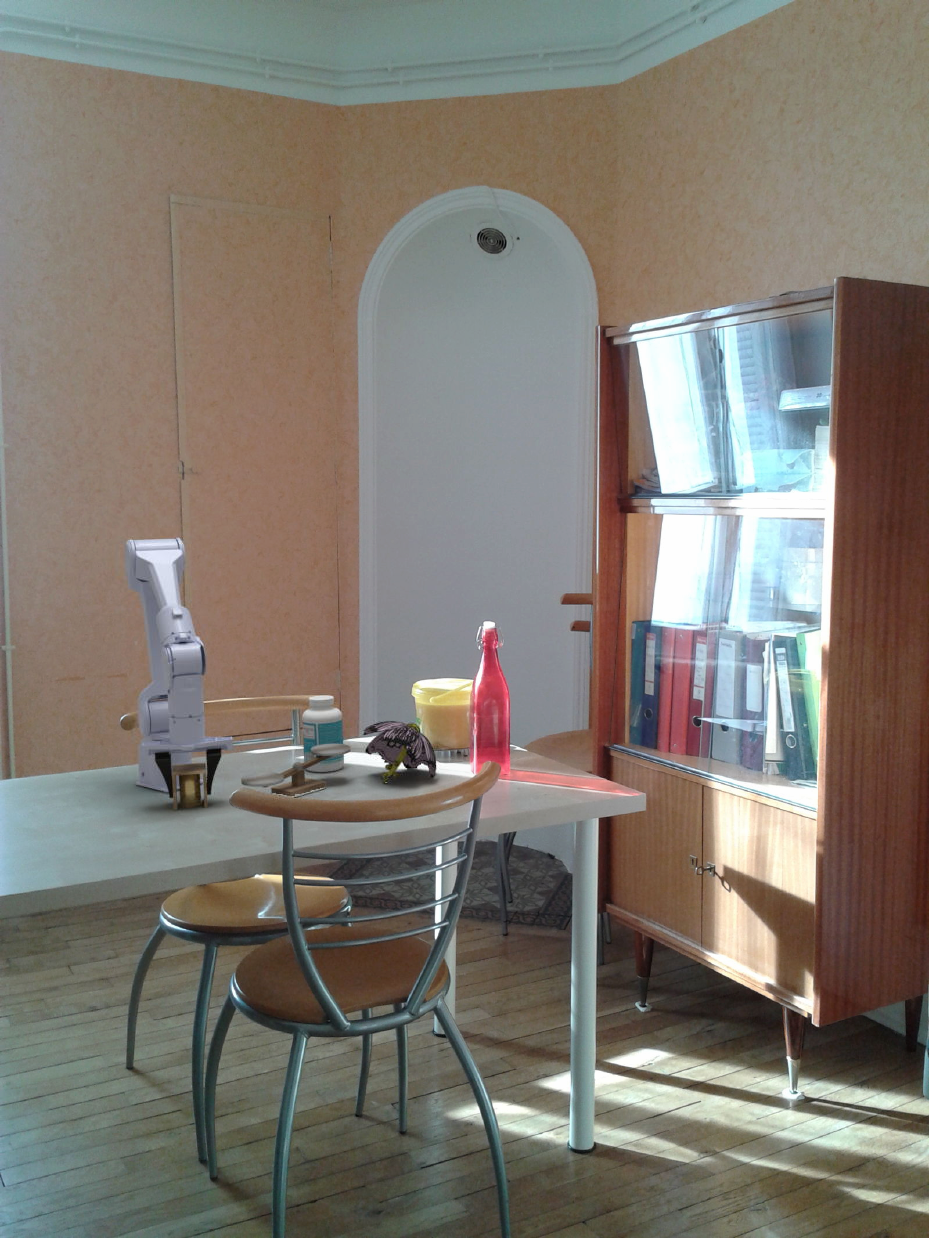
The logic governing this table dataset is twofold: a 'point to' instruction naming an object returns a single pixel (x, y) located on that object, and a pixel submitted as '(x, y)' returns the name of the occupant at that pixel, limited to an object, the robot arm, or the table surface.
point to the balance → (296, 773)
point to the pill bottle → (322, 731)
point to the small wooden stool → (186, 770)
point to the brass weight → (190, 790)
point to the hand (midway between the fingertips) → (190, 794)
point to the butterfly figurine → (401, 747)
